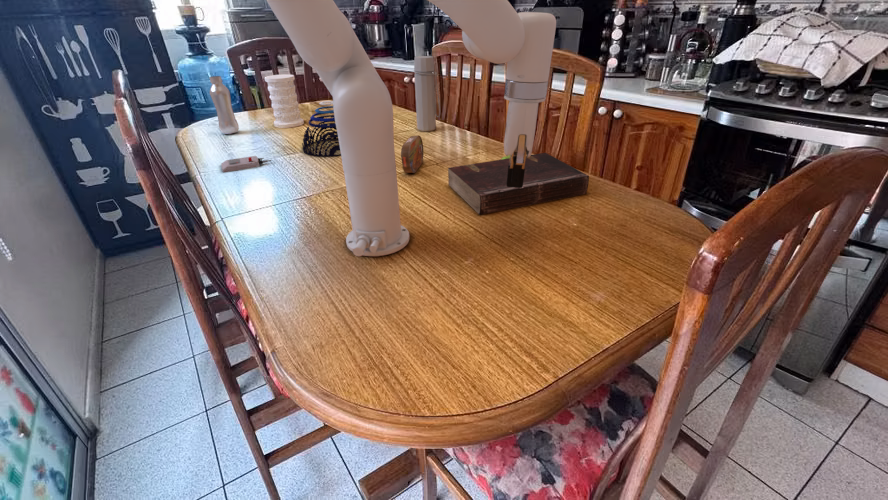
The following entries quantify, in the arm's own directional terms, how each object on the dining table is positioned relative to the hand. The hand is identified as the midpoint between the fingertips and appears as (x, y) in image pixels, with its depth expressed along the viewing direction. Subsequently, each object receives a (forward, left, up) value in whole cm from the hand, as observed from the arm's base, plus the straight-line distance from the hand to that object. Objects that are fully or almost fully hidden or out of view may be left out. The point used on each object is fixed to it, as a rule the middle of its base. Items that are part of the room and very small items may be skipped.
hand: (514, 185), depth 84 cm
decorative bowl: (+53, +57, -9) cm, 78 cm away
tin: (+34, +27, -9) cm, 44 cm away
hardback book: (+19, -2, -9) cm, 21 cm away
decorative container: (+83, +86, -9) cm, 120 cm away
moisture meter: (+34, +79, -9) cm, 86 cm away
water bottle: (+76, +28, -9) cm, 82 cm away
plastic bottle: (+69, +103, -9) cm, 124 cm away
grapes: (+35, -1, -9) cm, 36 cm away
